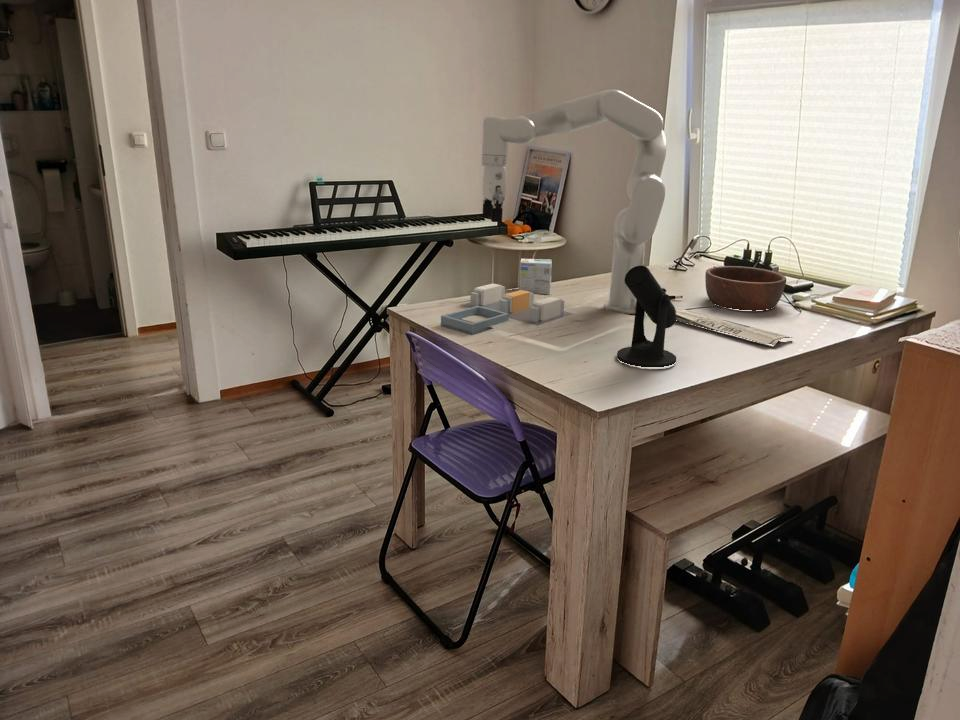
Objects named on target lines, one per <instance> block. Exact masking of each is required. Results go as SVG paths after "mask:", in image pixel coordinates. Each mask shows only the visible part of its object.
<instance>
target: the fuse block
mask: <svg viewBox="0 0 960 720" xmlns="http://www.w3.org/2000/svg"><path fill="white" fill-rule="evenodd" d="M504 294H506V286H503V285H502V297H503V296H504ZM534 298H535V293H531V307H529V308H527V309H524V310H520V311H517V312H514V313H509V312H508V308H509V300H505V299H500V300H499V301H498V302H494V303H491V304H487V305H484V306H483V305H479V303H480V293H476V292H474V291H473V292H470V300H469V301H470V302H467V303H463V304H460V306H461V307H466V308H471V307H475V306H481V307H485V308H489V309H493V310H497V311H501V312H505V313H509V319H511V320H514V321H515V320H516V321H519V322H523V323H526V324H531V325H534V326H540V325H543V324H547V323H550V322H553V321H555V320H559V319H561V318H565V317H568V316H571V315H574V312H569V311H565V300H564V299H562V306H561V314H560V315H559V316H556V317H553V318H550V319H547V320H544V321H542V320H539V312H540V308H538V307H534V306H533V303H534V302H535V299H534Z"/></svg>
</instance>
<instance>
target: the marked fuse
mask: <svg viewBox="0 0 960 720" xmlns="http://www.w3.org/2000/svg"><path fill="white" fill-rule="evenodd" d="M502 299H505V300H509V308H508V312H509V313H514V312H517V311H520V310H524V309H527V308H529V307H531V292H528V291H524V290H519V289H518V290H516V291H512V292H510V293H505V294H504V296H503V297H502Z"/></svg>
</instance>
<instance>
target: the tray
mask: <svg viewBox="0 0 960 720" xmlns="http://www.w3.org/2000/svg"><path fill="white" fill-rule="evenodd" d="M477 314H478V315H482V316H486V317H488V318H485V319H481V320H477V321H475V322H473V321H471V320H466V319H464V318H467V317H471V316H475V315H477ZM508 321H510V318H509V313H505V312H501V311H497V310H493V309H489V308H485V307H481V306H475V307H471V308H469V307H467V308H464V309H461V310H457V311H453V312H450V313H446V314H443V315H440V326H441V327H443V328H446V329H450V330H454V331H456V332H460V333H464V334H467V335H470V336H473V335H478V334H480V333H483V332H487V331H490V330H492V329H494V326H495V325H499V324H502V323H506V322H508ZM492 326H493V327H492Z"/></svg>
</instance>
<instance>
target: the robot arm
mask: <svg viewBox="0 0 960 720" xmlns="http://www.w3.org/2000/svg"><path fill="white" fill-rule="evenodd" d="M607 122H610V123H611V124H614V125H615V126H617V127H619V128H621V129H622V130H624V131H626V132H627V133H629V134H630V136H632V138H634V141H635V143H636V155H635V160H634V163H633V166H632V170H631V173H630V177H629V179H628V182H627V186H626V194H627V197H628V198H629V200H630V201H629V205H628V207H625V208H623V209H621V210H620V211H619V212H618V213H617V214H616V216H615V218H614V221H613V222H614V223H613V251H612V261H611V262H612V263H611V264H612V265H611V272H610V273H611V275H610V287H609V298H608V301H606V302H604V303H603V309H605V310H606V311H610V312H614V313H618V314H625V315H632V314H634V315H635V311H636V302H637V299H636V298H635V297H634V295H633V294H632V292H631V291H630V290H629V288H628V287H627V285H626V284H625V276H626V274H627V272H628V271H629V270H630V269H632V268H633V267H636V266H640V265H641V266H644V262H645V253H646V252H645V251H646V243H647V242H648V241H650V240H651V238H652V236H653V235H654V234H655V231H656V228H657V225H658V223H659V222H658V221H659V220H660V216H661V212H662V208H663V205H664V202H665V198H666V187H665V186H666V185H665V183H664V182H663V181H662V179H661V176H662V172H663V169H664V166H665V165H664V163H665V160H666V156H667V138H666V136H665V133H664V118H663V117H662V115H661V114H660V112H658V111H657V110H655V109H653V108H652V107H650V106H648V105H646V104H644V103H643V102H640V101H639V100H637V99H635V98H633V97H632V96H630V95H628V94H626V93H625V92H623V91H622V90H619V89H606V90H602V91H601V90H600V91H598V92H595V93H591V94H589V95H584V96H582V97H578V98H574V99H571V100H567V101H564V102H560V103H558V104H556V105H553V106H550V107H546V108H543V109H539V110H536V111H533V112H530V113H526V114H523V115H519V116H516V117H514V118H507V117H503V116H486V117H485V118H484V119H483V122H482V123H483V124H482V148H481V149H482V150H481V166H483V176H482V196H483V199H482V217H484V218H485V217H486V218H487V217H488V218H489V217H490V222H492V223H502V222H503V209H504V205H503V204H504V202H505V201H506V200H507V169H506V167H508V155H509V154H508V151H509V143H511V144H515V145H516V144H517V145H527V144H529V143H531V142H532V141H533V140H534V139H537V138H540V137H541V138H542V137H543V136H545V137H546V136H549V135H554V134H560V133H561V134H562V133H563V134H565V133H571V132H575V131H578V130H582V129H585V128H589V127H593V126H595V125H599V124H603V123H607Z"/></svg>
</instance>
